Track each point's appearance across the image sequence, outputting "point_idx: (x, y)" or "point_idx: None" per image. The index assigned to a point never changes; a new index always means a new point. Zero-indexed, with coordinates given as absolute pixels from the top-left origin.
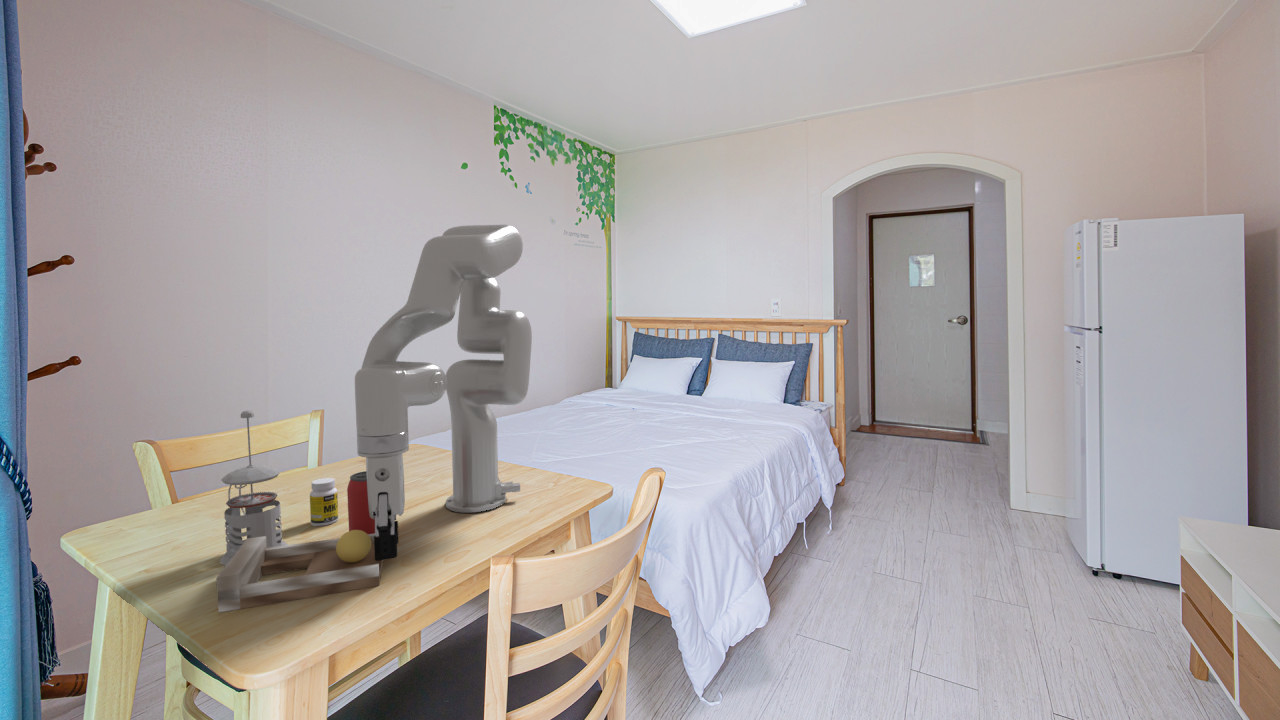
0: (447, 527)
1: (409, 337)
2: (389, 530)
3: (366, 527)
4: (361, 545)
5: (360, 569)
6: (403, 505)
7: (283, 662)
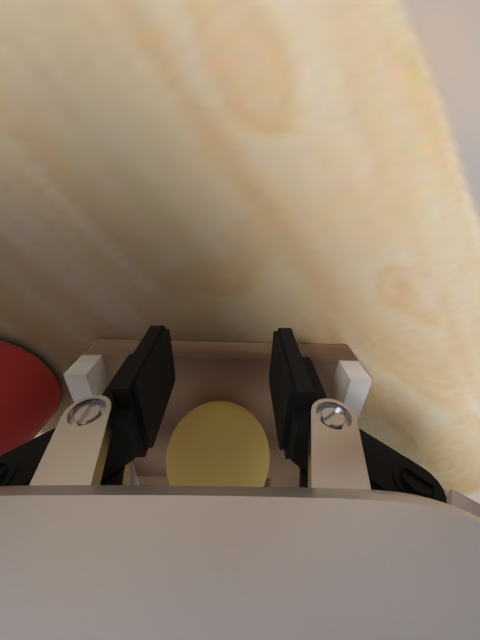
0: None
1: None
2: (408, 460)
3: (23, 425)
4: (261, 451)
5: (358, 417)
6: (447, 615)
7: None
